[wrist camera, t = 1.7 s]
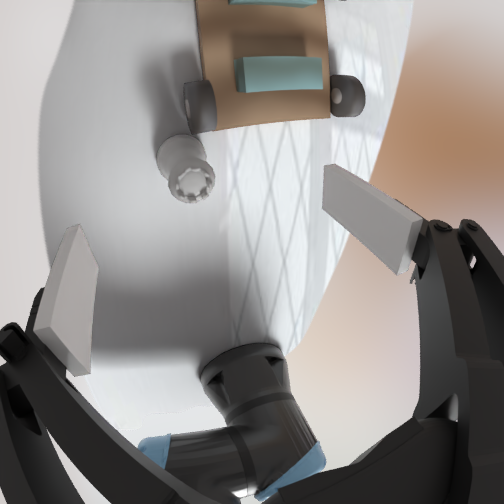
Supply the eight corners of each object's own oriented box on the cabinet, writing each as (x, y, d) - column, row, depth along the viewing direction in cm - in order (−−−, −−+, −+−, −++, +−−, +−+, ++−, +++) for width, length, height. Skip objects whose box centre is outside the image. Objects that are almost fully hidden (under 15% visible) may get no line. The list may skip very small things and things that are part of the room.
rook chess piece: (146, 151, 22) (146, 178, 16) (189, 123, 22) (207, 139, 16) (172, 188, 25) (183, 228, 19) (212, 163, 25) (238, 193, 19)
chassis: (339, 115, 26) (365, 123, 23) (187, 133, 23) (195, 142, 19) (328, -30, 16) (354, -40, 12) (169, -40, 12) (174, -61, 9)
